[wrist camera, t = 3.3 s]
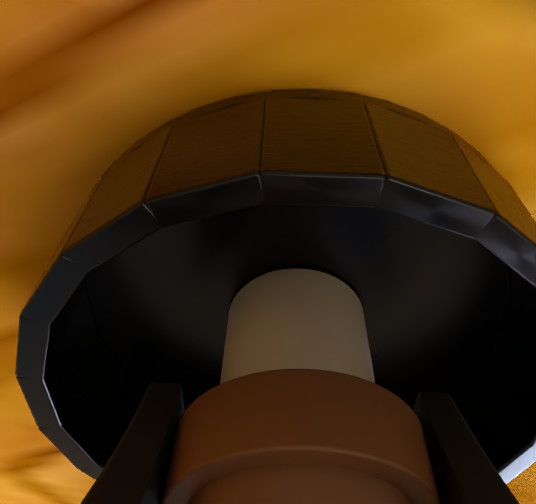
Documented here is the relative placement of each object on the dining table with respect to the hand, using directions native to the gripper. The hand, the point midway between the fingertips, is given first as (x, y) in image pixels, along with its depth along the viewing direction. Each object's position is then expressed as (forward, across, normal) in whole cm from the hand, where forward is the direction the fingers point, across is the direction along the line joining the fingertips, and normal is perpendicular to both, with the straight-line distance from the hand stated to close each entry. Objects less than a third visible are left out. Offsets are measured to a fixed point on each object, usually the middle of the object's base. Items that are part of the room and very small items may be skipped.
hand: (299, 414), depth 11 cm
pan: (+3, 0, 0) cm, 3 cm away
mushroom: (+3, 0, 0) cm, 3 cm away
